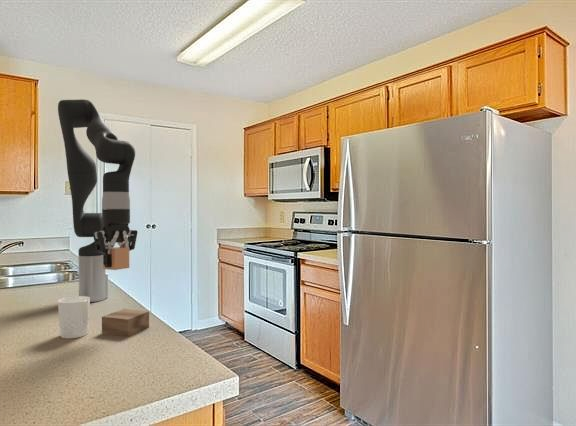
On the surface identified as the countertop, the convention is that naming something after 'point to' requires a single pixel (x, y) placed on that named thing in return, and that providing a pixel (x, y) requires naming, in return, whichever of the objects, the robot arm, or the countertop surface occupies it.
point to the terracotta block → (119, 258)
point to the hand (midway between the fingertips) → (116, 265)
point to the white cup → (74, 316)
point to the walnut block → (125, 322)
